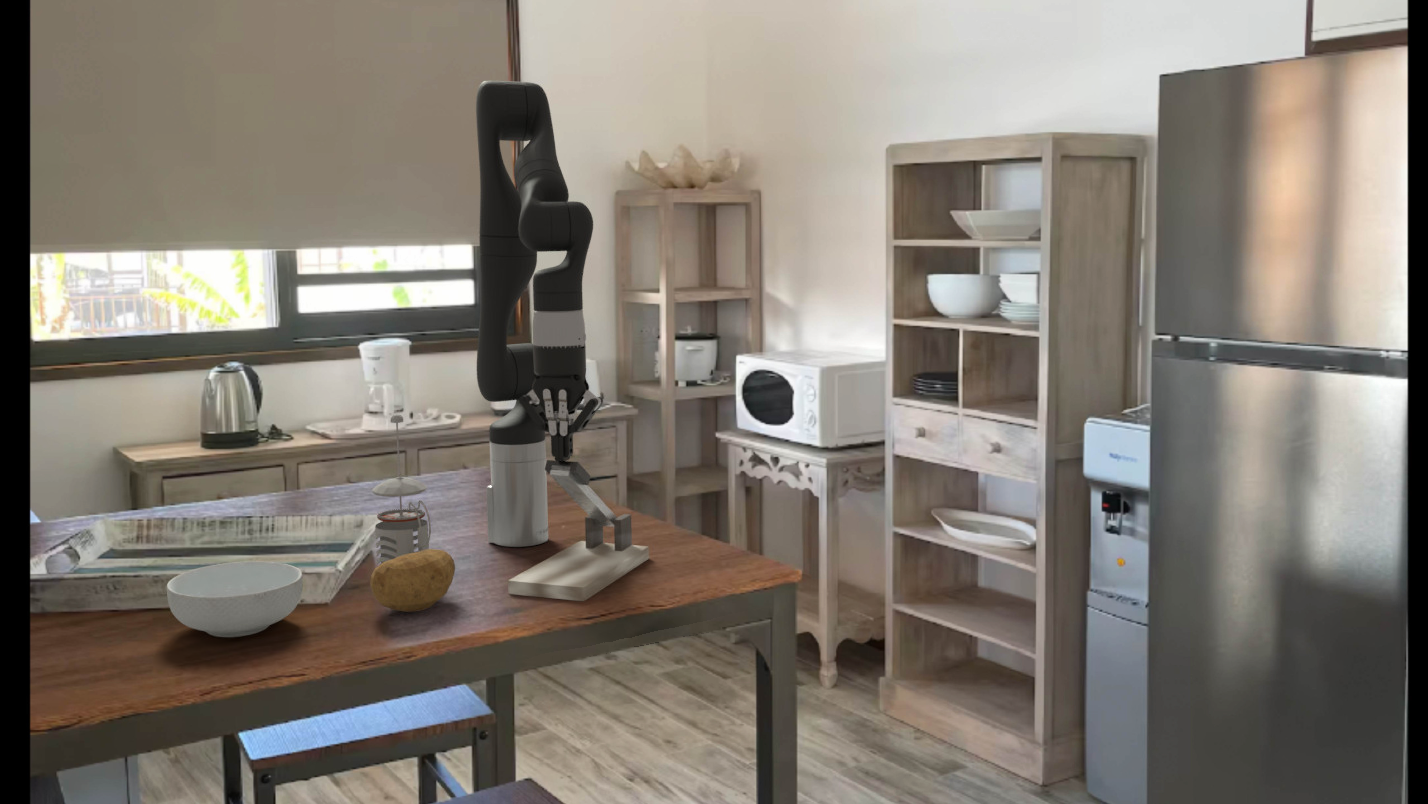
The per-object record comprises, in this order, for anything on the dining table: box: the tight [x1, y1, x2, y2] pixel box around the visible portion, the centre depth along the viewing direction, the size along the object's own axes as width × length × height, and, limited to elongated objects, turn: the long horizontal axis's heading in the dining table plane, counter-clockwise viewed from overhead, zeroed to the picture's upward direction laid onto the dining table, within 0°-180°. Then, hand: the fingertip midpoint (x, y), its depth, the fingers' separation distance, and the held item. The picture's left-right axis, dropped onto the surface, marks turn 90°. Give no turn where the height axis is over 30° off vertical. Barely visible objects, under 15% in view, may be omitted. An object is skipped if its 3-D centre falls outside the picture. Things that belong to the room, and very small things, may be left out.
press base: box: [507, 513, 650, 602], centre depth 194 cm, size 12×24×7 cm, turn 160°
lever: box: [545, 459, 618, 528], centre depth 195 cm, size 5×21×2 cm
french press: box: [371, 414, 432, 565], centre depth 193 cm, size 10×12×25 cm
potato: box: [369, 548, 456, 613], centre depth 179 cm, size 10×14×8 cm
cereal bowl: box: [166, 560, 303, 638], centre depth 171 cm, size 17×17×7 cm
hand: (562, 459), depth 187 cm, fingers closed
